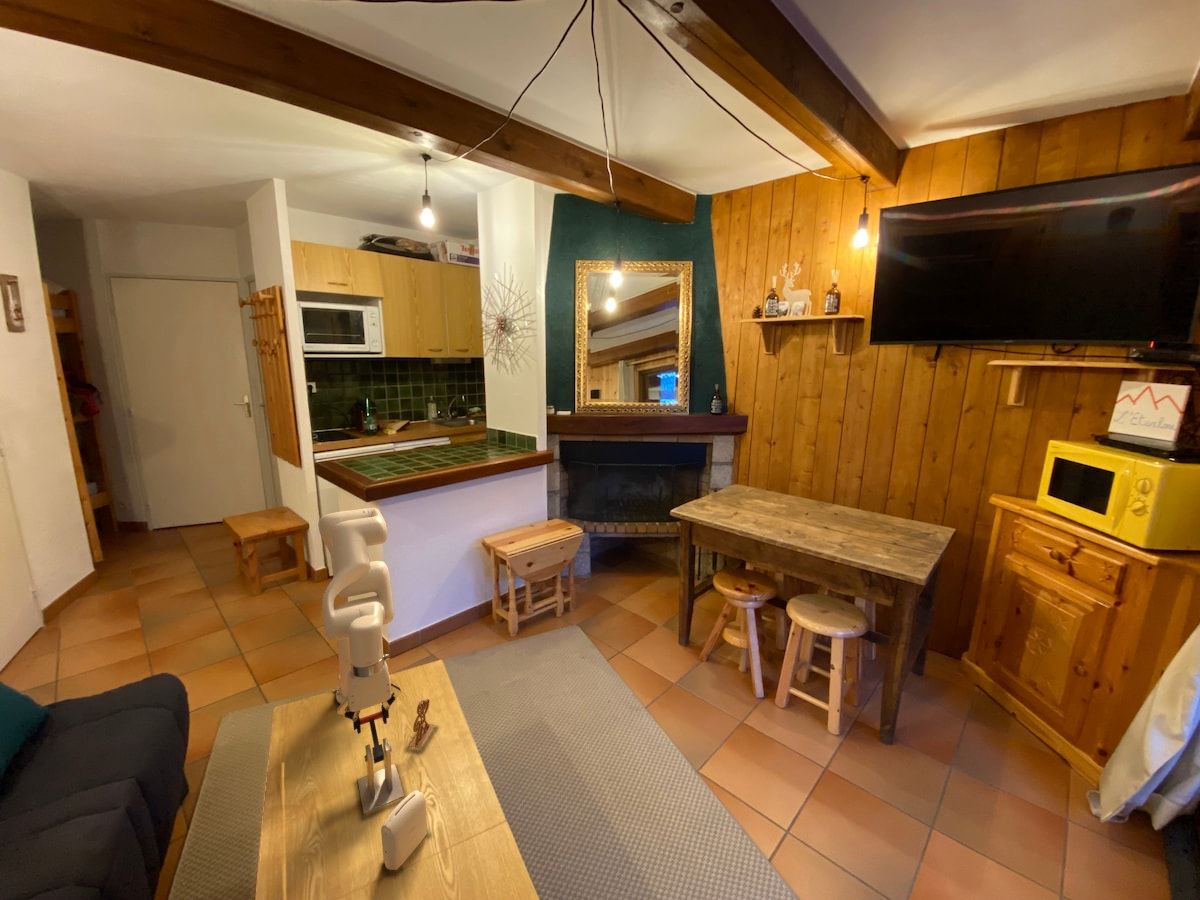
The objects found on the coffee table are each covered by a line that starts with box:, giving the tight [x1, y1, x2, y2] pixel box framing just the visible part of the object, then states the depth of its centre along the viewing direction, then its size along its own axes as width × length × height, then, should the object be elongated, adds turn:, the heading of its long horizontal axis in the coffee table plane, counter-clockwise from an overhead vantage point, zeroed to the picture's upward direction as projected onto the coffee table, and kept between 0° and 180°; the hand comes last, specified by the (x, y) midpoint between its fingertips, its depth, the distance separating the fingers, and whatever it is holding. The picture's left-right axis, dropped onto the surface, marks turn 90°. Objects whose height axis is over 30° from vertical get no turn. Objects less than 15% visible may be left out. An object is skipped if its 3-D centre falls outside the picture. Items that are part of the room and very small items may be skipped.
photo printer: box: [380, 789, 428, 871], centre depth 105 cm, size 10×4×12 cm, turn 156°
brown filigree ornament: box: [408, 698, 436, 749], centre depth 136 cm, size 9×4×12 cm, turn 171°
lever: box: [359, 710, 384, 765], centre depth 121 cm, size 12×6×2 cm, turn 34°
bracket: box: [357, 737, 405, 815], centre depth 119 cm, size 11×9×13 cm
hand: (371, 724), depth 126 cm, fingers open, 5 cm apart
